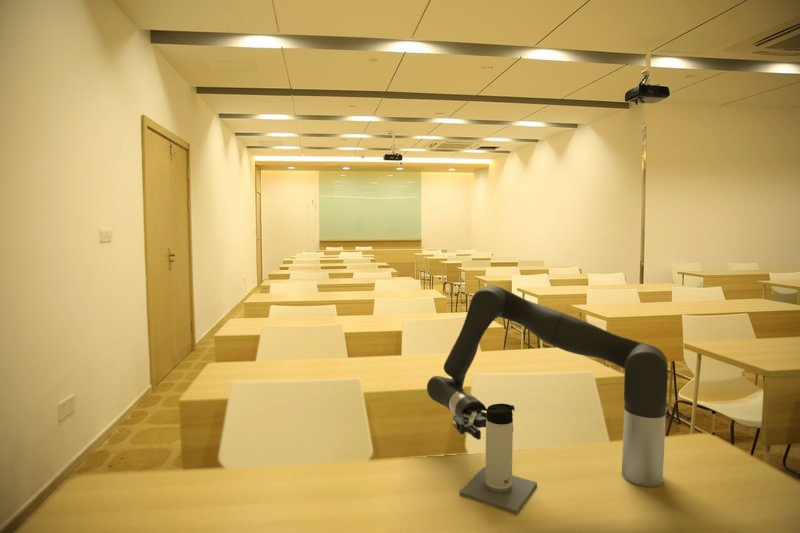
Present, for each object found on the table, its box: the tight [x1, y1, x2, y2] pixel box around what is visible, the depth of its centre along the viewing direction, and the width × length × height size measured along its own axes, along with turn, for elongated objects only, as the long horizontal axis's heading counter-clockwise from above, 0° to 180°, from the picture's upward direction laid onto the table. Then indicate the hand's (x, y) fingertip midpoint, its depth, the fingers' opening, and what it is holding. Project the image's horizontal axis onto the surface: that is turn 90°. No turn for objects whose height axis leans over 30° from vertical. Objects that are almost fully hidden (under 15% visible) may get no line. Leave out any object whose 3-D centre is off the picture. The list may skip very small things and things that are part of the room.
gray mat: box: [458, 466, 538, 515], centre depth 116 cm, size 14×14×1 cm
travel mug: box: [484, 403, 515, 493], centre depth 116 cm, size 6×7×20 cm
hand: (495, 433), depth 117 cm, fingers open, 8 cm apart
